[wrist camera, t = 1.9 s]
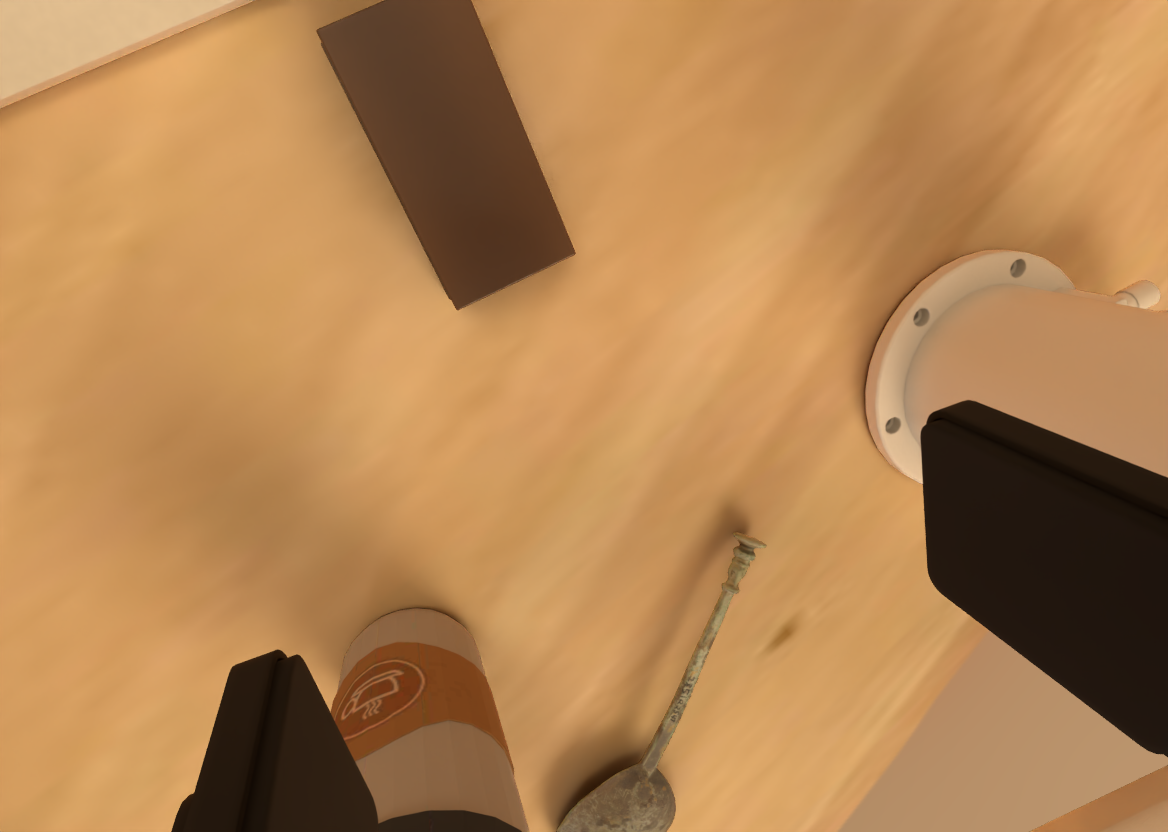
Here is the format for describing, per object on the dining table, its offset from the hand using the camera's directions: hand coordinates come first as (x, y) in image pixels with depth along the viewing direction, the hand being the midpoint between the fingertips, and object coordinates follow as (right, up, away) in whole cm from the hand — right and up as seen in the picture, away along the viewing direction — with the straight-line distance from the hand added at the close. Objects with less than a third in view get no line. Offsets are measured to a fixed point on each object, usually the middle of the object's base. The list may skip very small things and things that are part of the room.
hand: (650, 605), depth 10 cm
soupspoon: (+3, -13, +29) cm, 32 cm away
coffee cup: (-9, -9, +25) cm, 28 cm away
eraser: (-6, +13, +17) cm, 23 cm away
